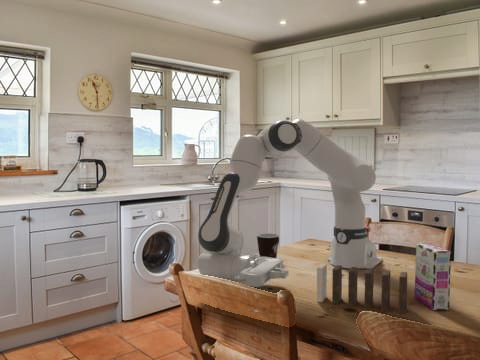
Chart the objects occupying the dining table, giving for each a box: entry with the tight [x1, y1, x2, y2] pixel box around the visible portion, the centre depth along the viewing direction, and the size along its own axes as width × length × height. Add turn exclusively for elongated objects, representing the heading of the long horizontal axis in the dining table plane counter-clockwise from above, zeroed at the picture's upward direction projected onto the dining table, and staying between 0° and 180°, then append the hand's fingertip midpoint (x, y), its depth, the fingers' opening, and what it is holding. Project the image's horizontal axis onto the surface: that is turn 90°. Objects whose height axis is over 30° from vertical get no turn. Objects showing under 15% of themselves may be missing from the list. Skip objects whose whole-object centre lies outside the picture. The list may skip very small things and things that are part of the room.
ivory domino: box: [316, 263, 328, 303], centre depth 133 cm, size 2×5×10 cm, turn 155°
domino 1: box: [331, 265, 343, 305], centre depth 131 cm, size 2×5×10 cm, turn 155°
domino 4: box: [380, 269, 391, 312], centre depth 125 cm, size 2×5×10 cm, turn 155°
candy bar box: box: [414, 242, 452, 312], centre depth 128 cm, size 11×5×16 cm, turn 5°
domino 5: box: [398, 271, 408, 315], centre depth 123 cm, size 2×5×10 cm, turn 155°
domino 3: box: [364, 268, 375, 310], centre depth 127 cm, size 2×5×10 cm, turn 155°
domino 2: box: [347, 267, 359, 308], centre depth 129 cm, size 2×5×10 cm, turn 155°
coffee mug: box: [256, 232, 280, 258], centre depth 178 cm, size 12×9×10 cm
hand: (287, 274), depth 137 cm, fingers closed
